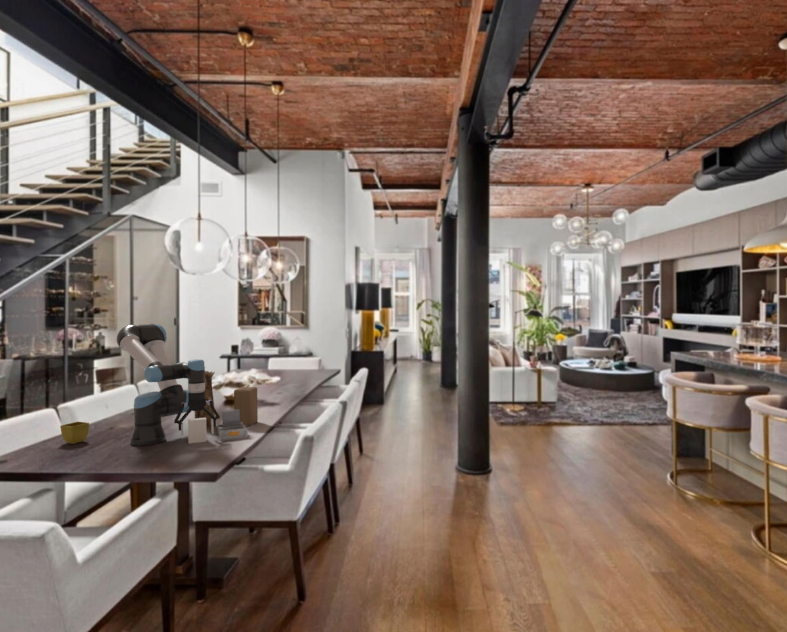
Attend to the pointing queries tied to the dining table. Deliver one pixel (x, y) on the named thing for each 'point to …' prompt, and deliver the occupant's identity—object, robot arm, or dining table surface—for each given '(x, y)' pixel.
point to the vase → (207, 399)
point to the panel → (197, 430)
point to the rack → (231, 426)
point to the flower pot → (74, 432)
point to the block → (246, 404)
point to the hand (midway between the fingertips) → (197, 435)
